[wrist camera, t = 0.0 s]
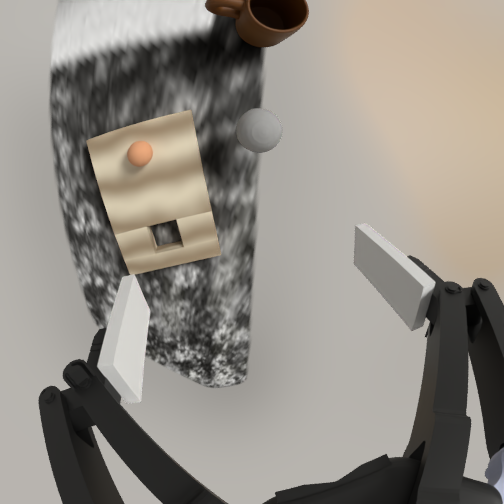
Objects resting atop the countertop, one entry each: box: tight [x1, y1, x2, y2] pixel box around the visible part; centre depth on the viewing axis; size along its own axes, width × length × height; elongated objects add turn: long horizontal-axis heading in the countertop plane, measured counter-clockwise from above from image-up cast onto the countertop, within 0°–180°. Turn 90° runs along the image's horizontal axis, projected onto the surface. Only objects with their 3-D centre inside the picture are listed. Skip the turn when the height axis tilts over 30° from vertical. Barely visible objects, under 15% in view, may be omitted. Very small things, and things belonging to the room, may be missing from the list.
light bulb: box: [236, 108, 282, 153], centre depth 34 cm, size 6×5×10 cm
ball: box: [127, 141, 153, 167], centre depth 33 cm, size 3×3×3 cm
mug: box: [205, 0, 309, 47], centre depth 27 cm, size 12×8×9 cm, turn 83°
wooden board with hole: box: [86, 110, 221, 275], centre depth 39 cm, size 22×15×2 cm
